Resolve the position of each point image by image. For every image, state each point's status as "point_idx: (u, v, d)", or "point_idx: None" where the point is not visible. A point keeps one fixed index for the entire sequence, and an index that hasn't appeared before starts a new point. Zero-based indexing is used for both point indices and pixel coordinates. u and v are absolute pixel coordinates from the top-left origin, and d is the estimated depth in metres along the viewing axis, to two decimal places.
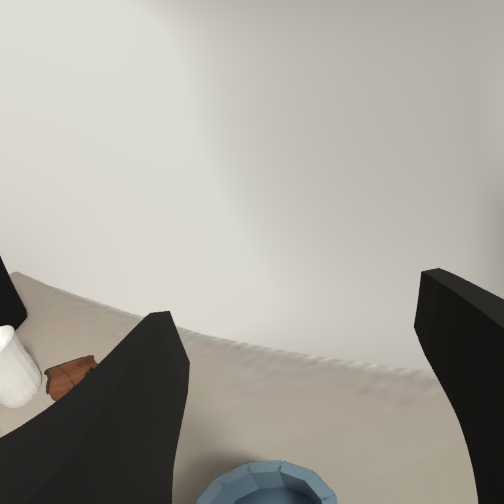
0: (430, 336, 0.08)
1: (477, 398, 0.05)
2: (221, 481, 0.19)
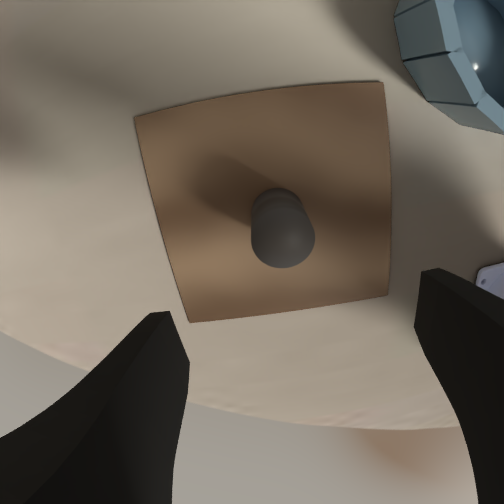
0: (430, 336, 0.08)
1: (477, 398, 0.05)
2: None
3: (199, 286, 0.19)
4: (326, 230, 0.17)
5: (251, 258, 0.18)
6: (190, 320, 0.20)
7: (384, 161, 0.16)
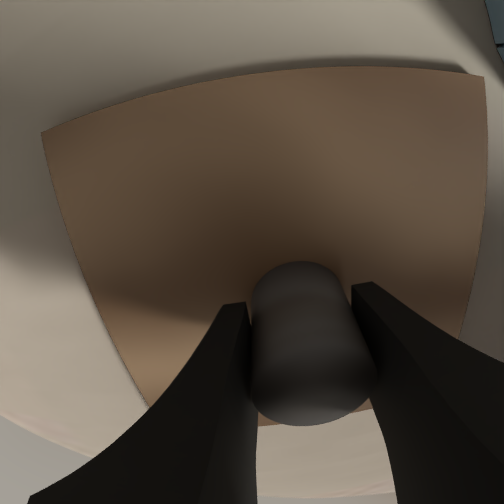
0: None
1: (396, 426, 0.05)
2: None
3: None
4: None
5: None
6: None
7: (476, 212, 0.08)
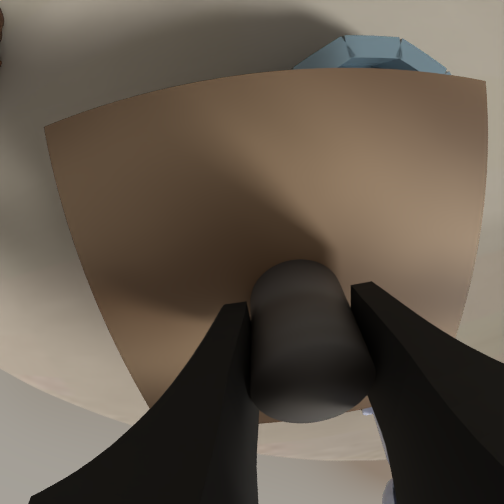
0: None
1: (396, 427, 0.05)
2: None
3: None
4: None
5: None
6: None
7: (475, 214, 0.08)
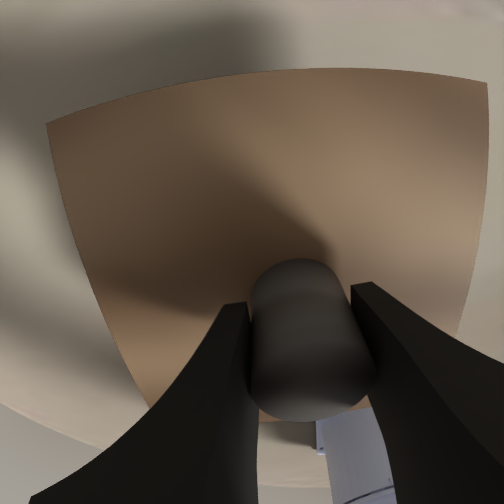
0: None
1: (396, 427, 0.05)
2: None
3: None
4: None
5: None
6: None
7: (475, 215, 0.08)
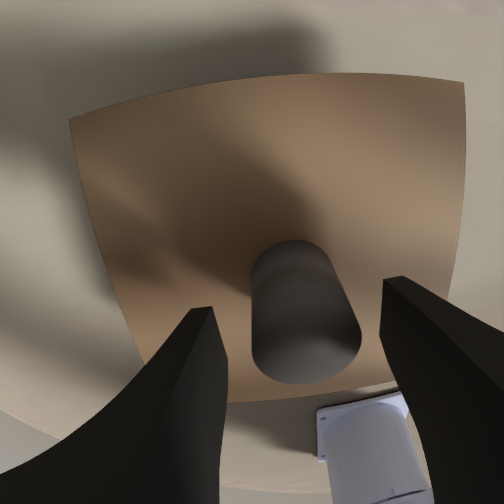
0: (392, 346, 0.08)
1: (434, 415, 0.05)
2: None
3: None
4: (362, 301, 0.11)
5: (248, 337, 0.12)
6: None
7: (455, 202, 0.10)
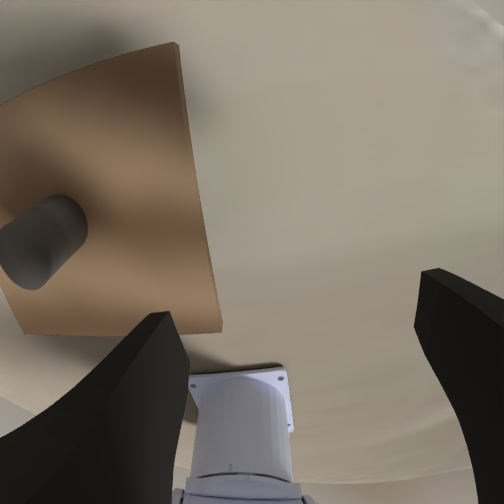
0: (430, 336, 0.08)
1: (477, 398, 0.05)
2: None
3: (20, 298, 0.15)
4: (116, 245, 0.13)
5: None
6: (23, 331, 0.16)
7: (179, 150, 0.11)
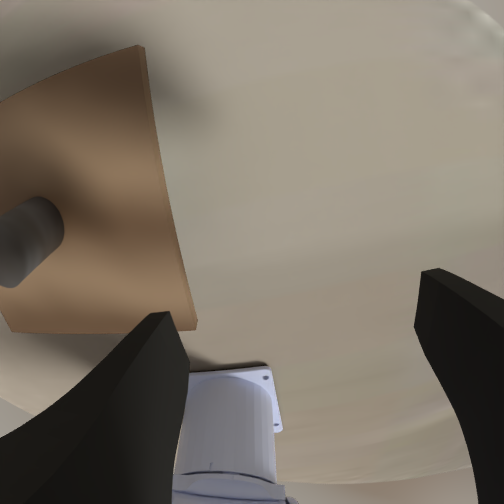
0: (430, 336, 0.08)
1: (477, 398, 0.05)
2: None
3: (6, 297, 0.15)
4: (91, 244, 0.13)
5: (33, 272, 0.14)
6: (11, 329, 0.16)
7: (144, 150, 0.11)
